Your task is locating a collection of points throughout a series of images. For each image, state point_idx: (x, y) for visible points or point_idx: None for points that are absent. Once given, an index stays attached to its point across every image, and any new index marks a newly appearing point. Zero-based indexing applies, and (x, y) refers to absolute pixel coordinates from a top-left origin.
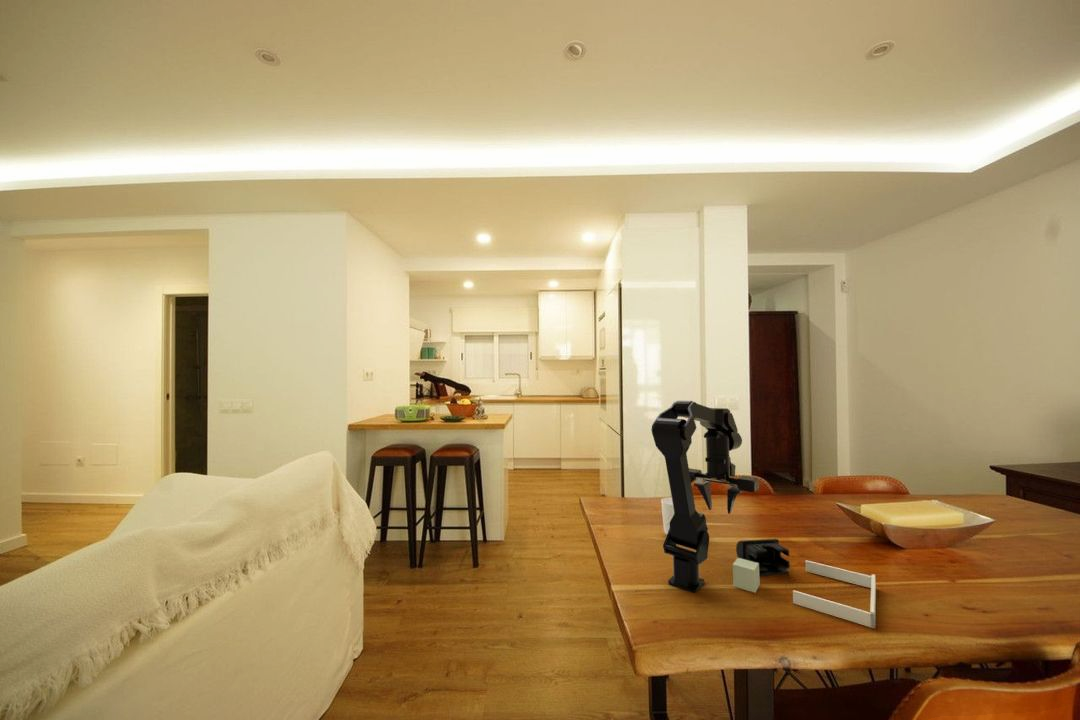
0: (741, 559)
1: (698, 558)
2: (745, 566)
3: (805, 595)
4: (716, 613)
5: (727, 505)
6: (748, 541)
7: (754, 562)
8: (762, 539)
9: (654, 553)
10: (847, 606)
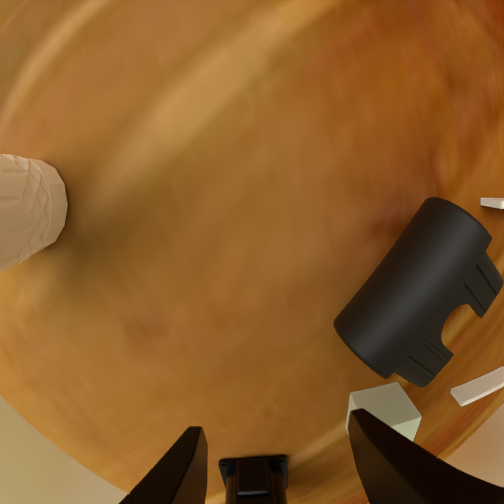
0: None
1: None
2: None
3: (476, 398)
4: (335, 494)
5: (367, 495)
6: (405, 359)
7: (411, 421)
8: (448, 281)
9: (103, 404)
10: None
